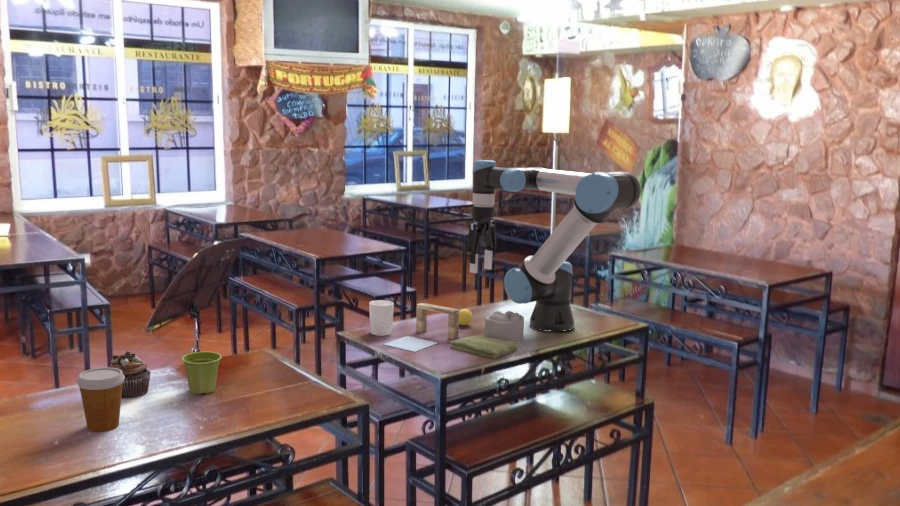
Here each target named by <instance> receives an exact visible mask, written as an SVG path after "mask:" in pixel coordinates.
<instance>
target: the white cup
mask: <svg viewBox="0 0 900 506" xmlns="http://www.w3.org/2000/svg"><path fill="white" fill-rule="evenodd" d="M368 305H369V306H368V307H369V310H368V311H369V326H370V334H371V335H374V336H379V337H380V336H382V337H383V336H389V335H391V334H392V332H393V331H392V328H393V327H392V326H393V321H394V308H395V307H394V306H395V303H394V301H392V300H386V299H385V300H384V299H378V300H377V299H376V300H371V301H369V302H368Z"/></svg>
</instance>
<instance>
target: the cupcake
mask: <svg viewBox="0 0 900 506" xmlns="http://www.w3.org/2000/svg"><path fill="white" fill-rule="evenodd" d="M147 367H148V364H147V362H145V361H143V360H142V359H141V358H140V357H138V355H136V353H131V351H126V352H125V353H124V354H121V355H112V358H111V361H110V364H109V366H108V368H117V369H120V370H122V372H123V375H124V376H125V379H124V382H123V386H122V396H121V399H122V400H123V399H135V398H139V397H142V396H146V394H148V392H149V387H150V386H149V385H150V380H151V374H152V372H151V371H150V370H149V369H148V368H147Z"/></svg>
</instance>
